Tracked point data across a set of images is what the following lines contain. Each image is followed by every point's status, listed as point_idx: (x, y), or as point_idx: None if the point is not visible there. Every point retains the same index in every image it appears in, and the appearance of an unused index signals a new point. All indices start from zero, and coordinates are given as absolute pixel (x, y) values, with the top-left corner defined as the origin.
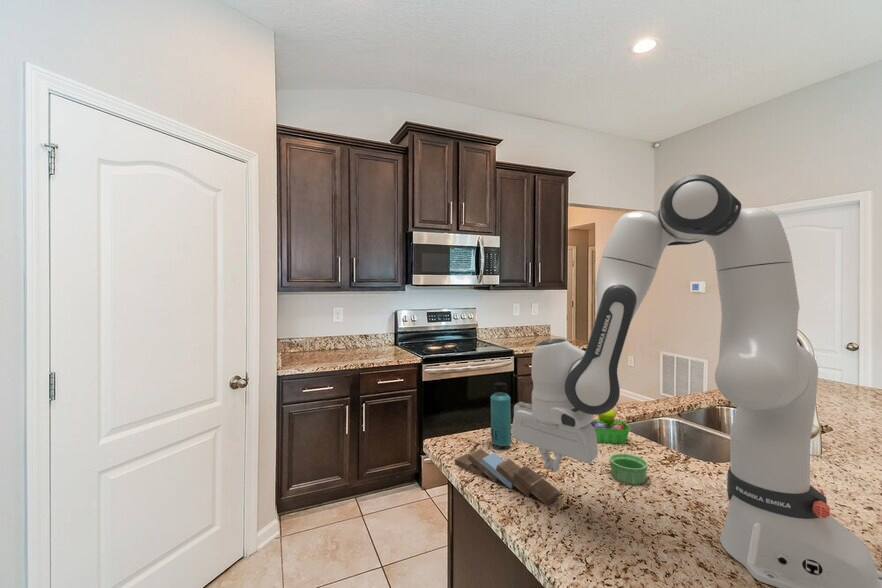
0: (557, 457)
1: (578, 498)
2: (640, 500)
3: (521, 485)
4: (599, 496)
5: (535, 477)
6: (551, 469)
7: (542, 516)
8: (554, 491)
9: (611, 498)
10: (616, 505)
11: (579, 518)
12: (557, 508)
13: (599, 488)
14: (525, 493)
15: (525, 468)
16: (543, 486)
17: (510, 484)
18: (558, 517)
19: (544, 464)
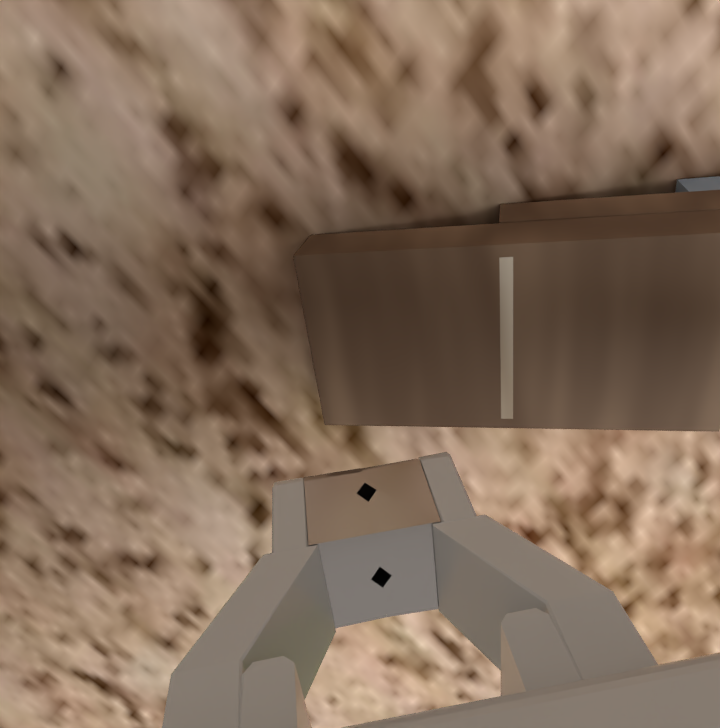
0: (216, 671)
1: (239, 486)
2: (22, 715)
3: (599, 213)
4: (179, 593)
5: (548, 377)
6: (346, 473)
7: (219, 61)
8: (346, 386)
9: (122, 626)
10: (46, 597)
11: (36, 301)
12: (234, 272)
13: None
14: (531, 207)
15: (691, 389)
16: (431, 349)
17: (703, 186)
18: (132, 172)
19: (454, 470)
